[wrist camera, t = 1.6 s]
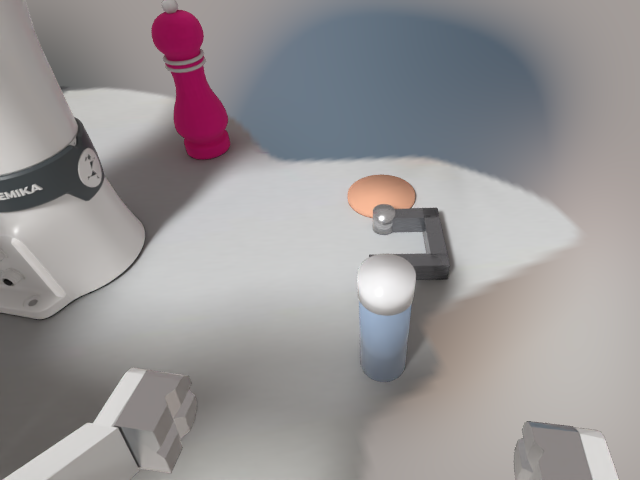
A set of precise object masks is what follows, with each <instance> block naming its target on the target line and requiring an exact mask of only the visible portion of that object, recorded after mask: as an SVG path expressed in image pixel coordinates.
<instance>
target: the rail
mask: <svg viewBox="0 0 640 480" xmlns="http://www.w3.org/2000/svg"><path fill="white" fill-rule="evenodd" d="M373 230H374V231H375V232H376V233H377V234H380V235H387V234H390V233H392V232H423V237H424V243H425V248H426V254H393V255H397V256H400V257H402V258H404V259H406V260H407V261H408V262H409V263H410V264H411V265H412V266H413V268H414V270H415V273H416V280H430V279H448V273H449V267H450V264H449V259H448V254H447V250H446V245H445V241H444V236H443V232H442V227H441V222H440V218H439V213H438V209H437V208H409V209H394V207H393V206H391V205H388V204H380V205H377V206H376V207H374V209H373ZM371 256H374V255H369V257H371Z"/></svg>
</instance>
